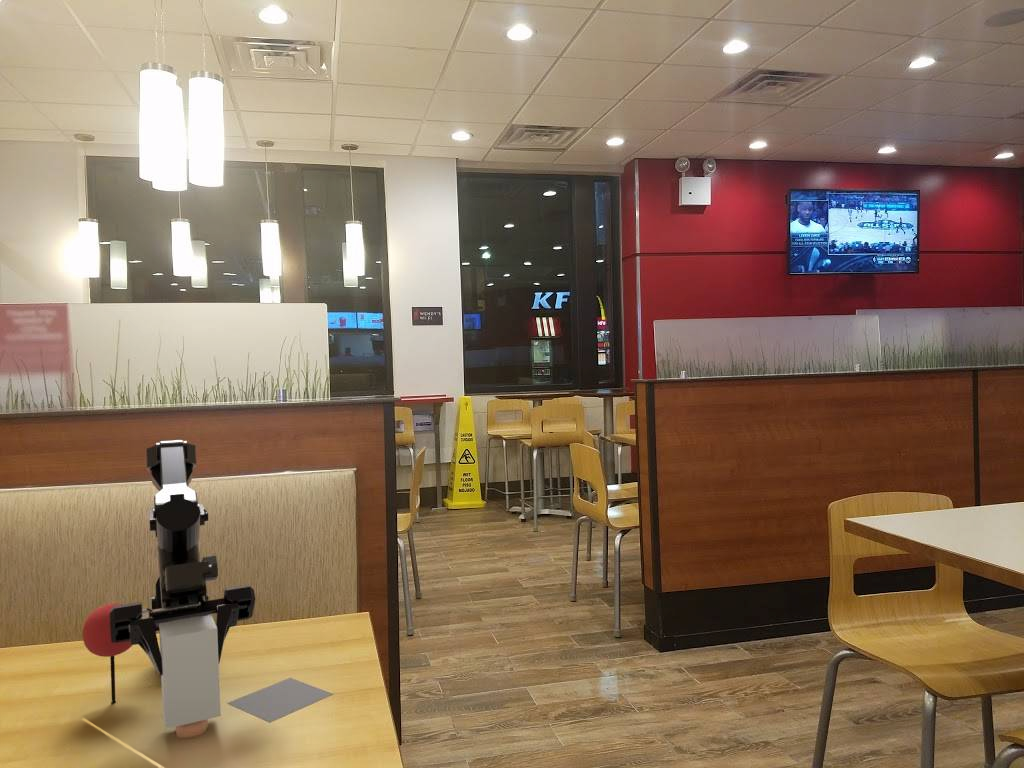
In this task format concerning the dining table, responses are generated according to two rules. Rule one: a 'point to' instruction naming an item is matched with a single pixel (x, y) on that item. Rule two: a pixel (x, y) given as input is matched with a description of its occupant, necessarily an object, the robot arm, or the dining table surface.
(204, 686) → the cover
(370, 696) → the dining table surface
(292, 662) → the dining table surface
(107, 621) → the lollipop
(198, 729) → the bowl
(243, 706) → the mat
